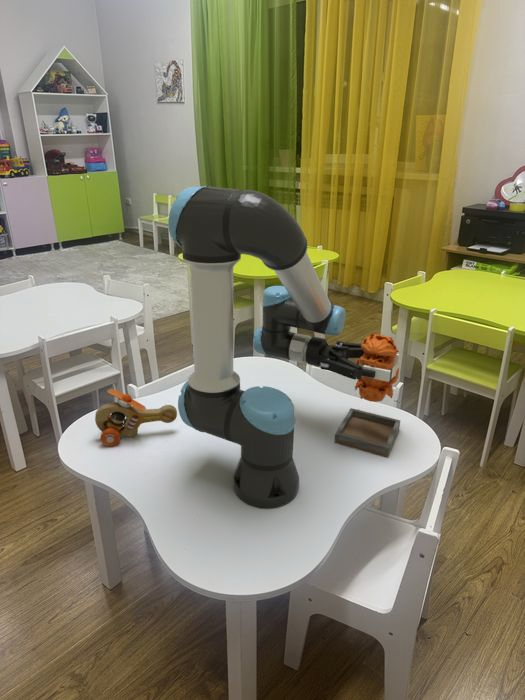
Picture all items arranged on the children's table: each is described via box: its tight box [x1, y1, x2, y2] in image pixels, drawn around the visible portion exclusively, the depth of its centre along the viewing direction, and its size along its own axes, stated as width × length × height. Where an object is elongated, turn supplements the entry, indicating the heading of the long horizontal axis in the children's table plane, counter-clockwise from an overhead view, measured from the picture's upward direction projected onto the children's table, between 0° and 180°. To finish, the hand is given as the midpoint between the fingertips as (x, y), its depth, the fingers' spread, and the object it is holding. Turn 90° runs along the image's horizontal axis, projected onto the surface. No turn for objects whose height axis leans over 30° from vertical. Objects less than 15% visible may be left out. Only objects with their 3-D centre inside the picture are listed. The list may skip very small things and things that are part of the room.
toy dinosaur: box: [354, 331, 400, 403], centre depth 120 cm, size 11×11×18 cm
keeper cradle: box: [334, 407, 401, 459], centre depth 128 cm, size 14×14×3 cm
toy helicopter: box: [94, 388, 178, 448], centre depth 125 cm, size 8×21×14 cm, turn 102°
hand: (394, 367), depth 118 cm, fingers closed on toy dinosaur, 9 cm apart
